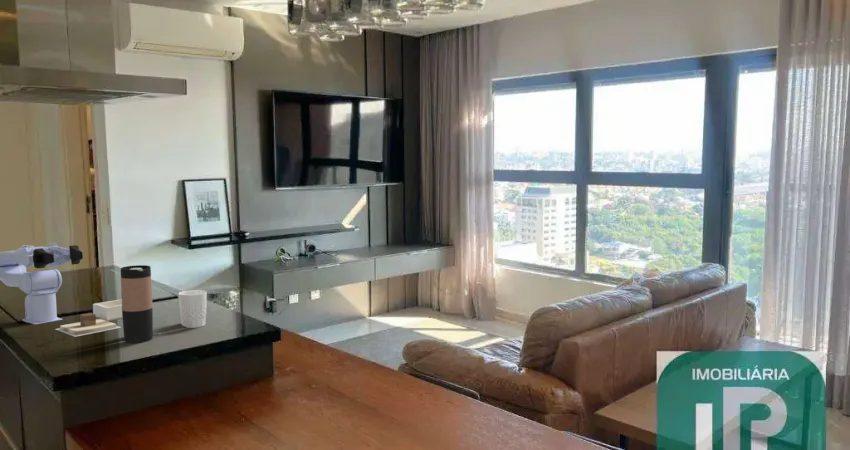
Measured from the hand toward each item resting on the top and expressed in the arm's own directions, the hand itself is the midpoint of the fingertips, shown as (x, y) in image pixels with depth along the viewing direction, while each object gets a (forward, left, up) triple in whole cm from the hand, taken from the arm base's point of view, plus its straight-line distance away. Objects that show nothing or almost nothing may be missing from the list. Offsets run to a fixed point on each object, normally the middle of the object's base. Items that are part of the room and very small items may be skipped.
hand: (67, 256), depth 181 cm
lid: (+2, +4, -21) cm, 22 cm away
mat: (+2, +4, -22) cm, 22 cm away
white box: (-7, +16, -22) cm, 28 cm away
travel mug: (+23, +8, -22) cm, 33 cm away
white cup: (+21, +26, -22) cm, 40 cm away
